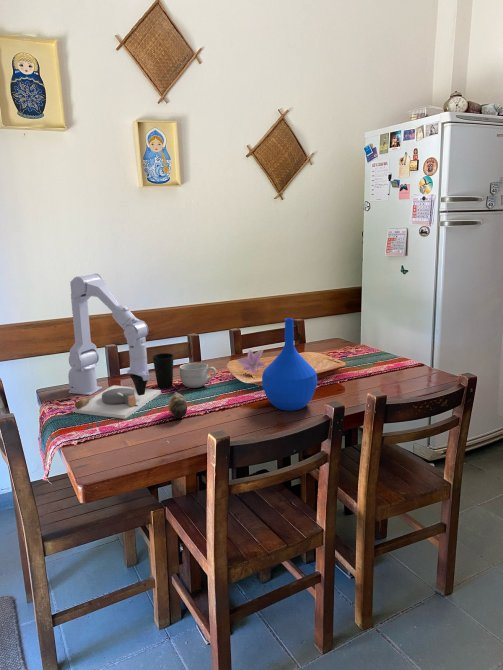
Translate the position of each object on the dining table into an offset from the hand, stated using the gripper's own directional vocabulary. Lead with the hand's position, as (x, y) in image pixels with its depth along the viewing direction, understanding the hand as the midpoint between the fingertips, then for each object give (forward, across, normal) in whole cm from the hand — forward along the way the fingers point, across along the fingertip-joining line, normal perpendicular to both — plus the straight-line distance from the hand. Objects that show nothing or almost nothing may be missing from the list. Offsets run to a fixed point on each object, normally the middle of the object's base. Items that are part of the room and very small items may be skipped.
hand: (141, 394), depth 180 cm
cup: (+3, -11, +13) cm, 17 cm away
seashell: (+3, +19, +6) cm, 20 cm away
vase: (+3, +31, +41) cm, 51 cm away
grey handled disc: (+1, -2, -6) cm, 7 cm away
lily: (+3, -5, +48) cm, 48 cm away
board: (+3, -4, -7) cm, 9 cm away
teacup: (+3, -4, +24) cm, 24 cm away
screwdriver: (+2, -6, -17) cm, 18 cm away
